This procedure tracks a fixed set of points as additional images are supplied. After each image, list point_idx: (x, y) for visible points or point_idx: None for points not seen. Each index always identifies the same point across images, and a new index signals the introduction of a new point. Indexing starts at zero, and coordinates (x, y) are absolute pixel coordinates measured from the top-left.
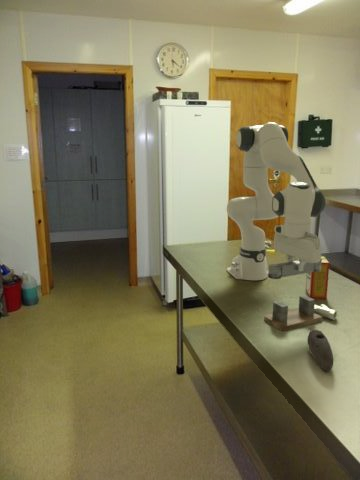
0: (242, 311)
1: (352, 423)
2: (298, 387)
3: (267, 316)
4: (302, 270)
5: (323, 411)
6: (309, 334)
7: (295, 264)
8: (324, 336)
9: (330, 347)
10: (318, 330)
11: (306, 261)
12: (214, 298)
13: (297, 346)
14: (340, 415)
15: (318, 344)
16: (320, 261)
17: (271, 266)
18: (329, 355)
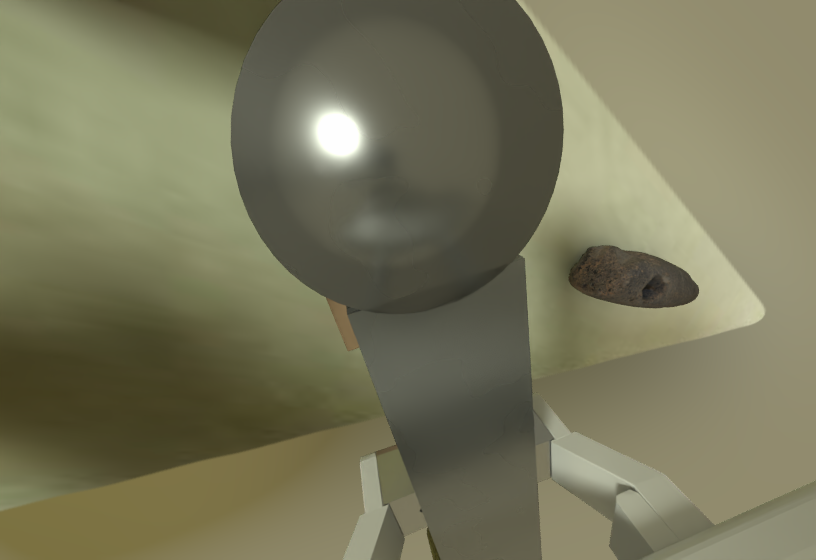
0: (262, 396)
1: (749, 296)
2: (649, 344)
3: (355, 341)
4: (536, 397)
5: (708, 326)
6: (602, 299)
7: (536, 512)
8: (657, 275)
9: (680, 272)
10: (629, 280)
11: (505, 396)
12: (113, 476)
13: (534, 295)
14: (729, 305)
15: (667, 306)
16: (543, 98)
17: None
18: (698, 291)
